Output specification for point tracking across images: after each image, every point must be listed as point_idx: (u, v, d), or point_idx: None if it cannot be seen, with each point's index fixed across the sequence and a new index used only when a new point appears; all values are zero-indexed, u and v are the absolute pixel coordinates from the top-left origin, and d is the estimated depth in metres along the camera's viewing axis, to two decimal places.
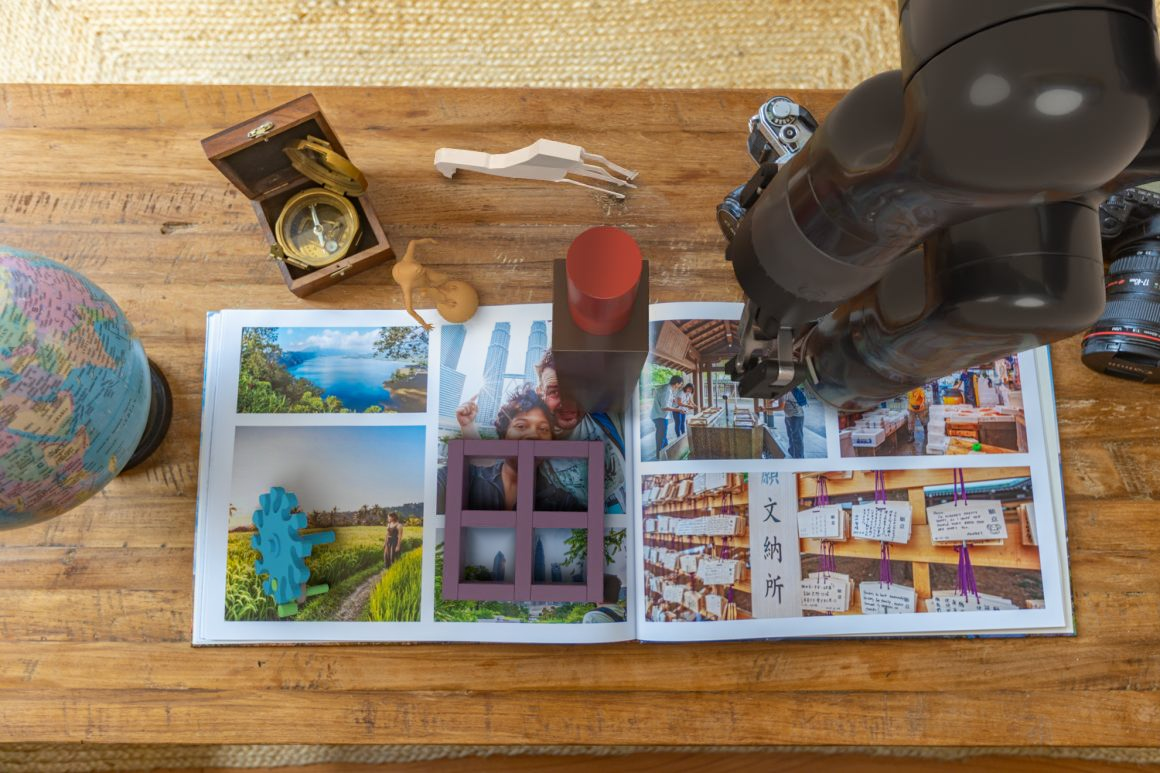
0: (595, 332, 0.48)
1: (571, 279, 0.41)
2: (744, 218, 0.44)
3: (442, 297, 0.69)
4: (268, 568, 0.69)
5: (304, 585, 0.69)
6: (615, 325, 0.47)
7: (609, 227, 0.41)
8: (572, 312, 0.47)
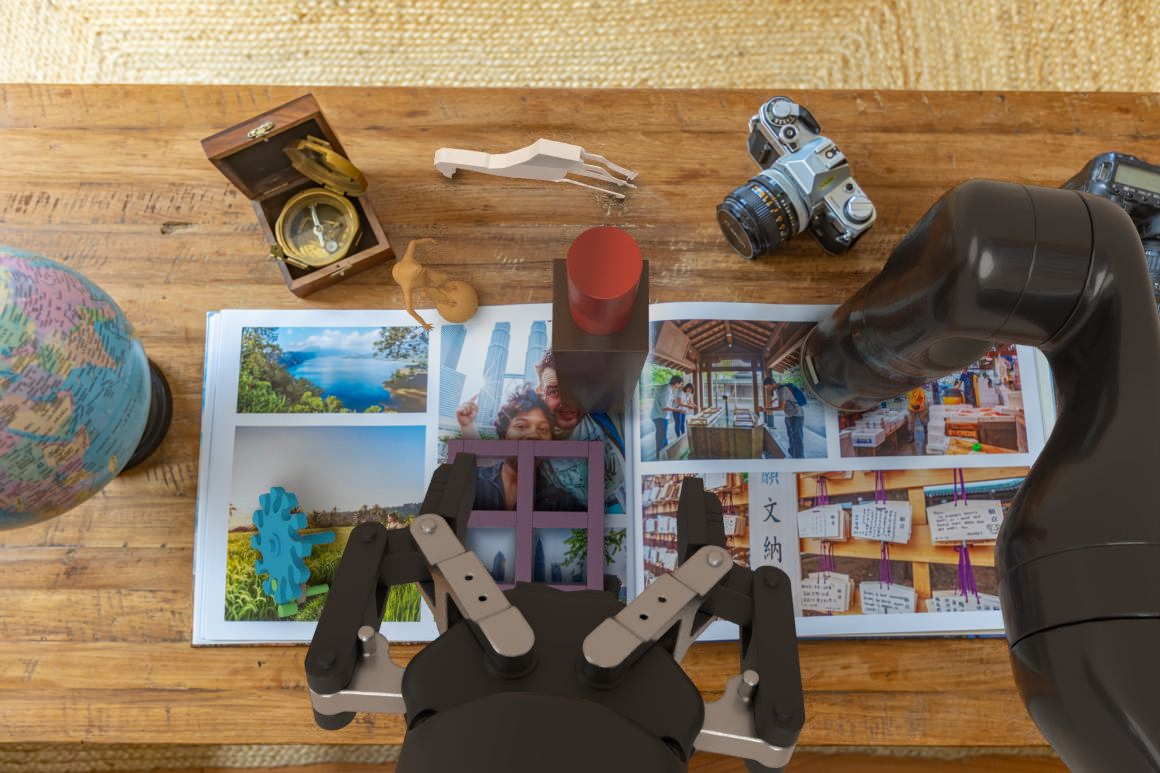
0: (596, 332, 0.48)
1: (571, 279, 0.41)
2: None
3: (442, 297, 0.69)
4: (268, 568, 0.69)
5: (304, 585, 0.69)
6: (615, 325, 0.47)
7: (609, 227, 0.41)
8: (572, 312, 0.47)
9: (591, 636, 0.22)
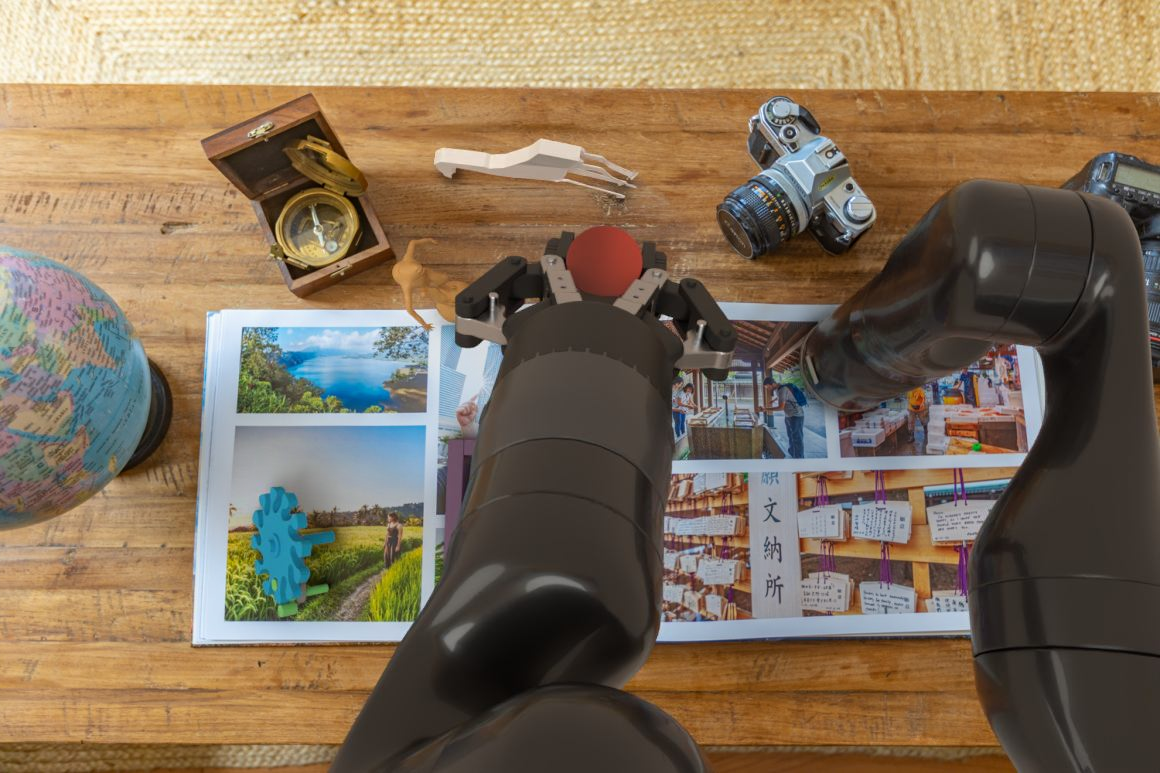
0: None
1: None
2: (632, 331, 0.32)
3: (442, 297, 0.69)
4: (268, 568, 0.69)
5: (304, 585, 0.69)
6: None
7: (609, 227, 0.41)
8: None
9: (614, 305, 0.36)
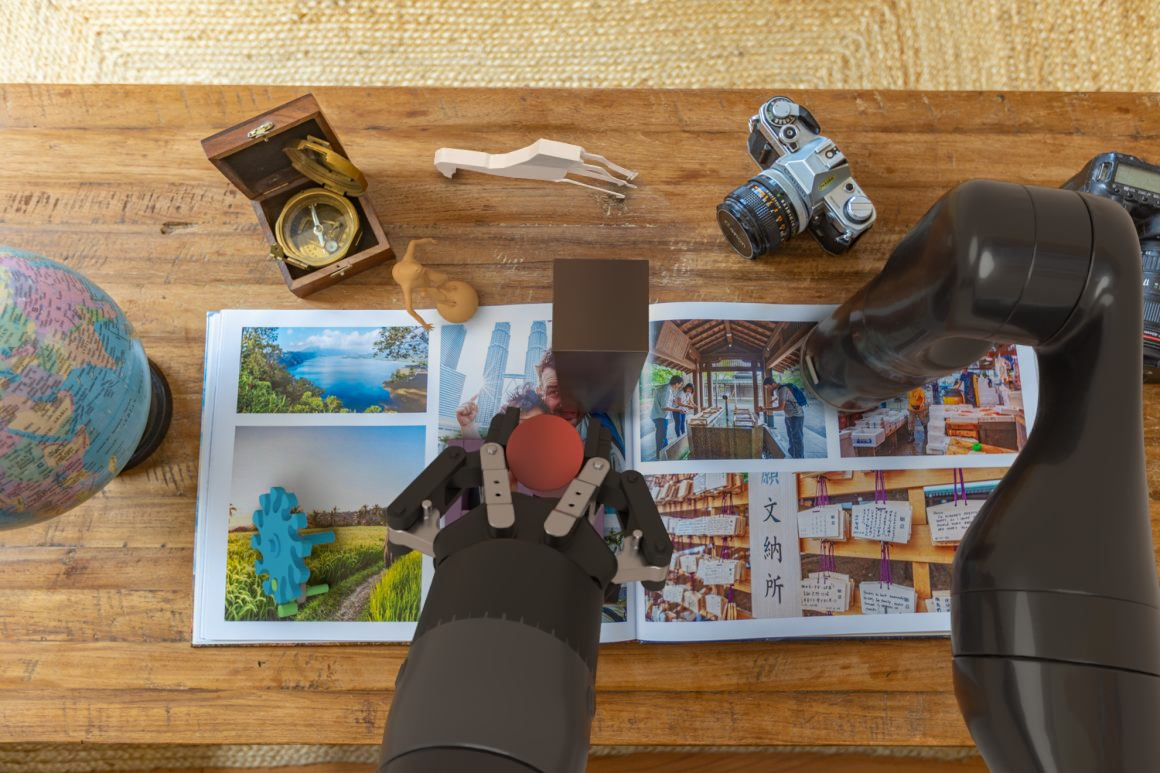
0: (544, 497, 0.47)
1: (511, 470, 0.40)
2: (555, 579, 0.31)
3: (442, 297, 0.69)
4: (268, 568, 0.69)
5: (304, 585, 0.69)
6: (563, 494, 0.46)
7: (550, 416, 0.41)
8: None
9: (547, 521, 0.36)
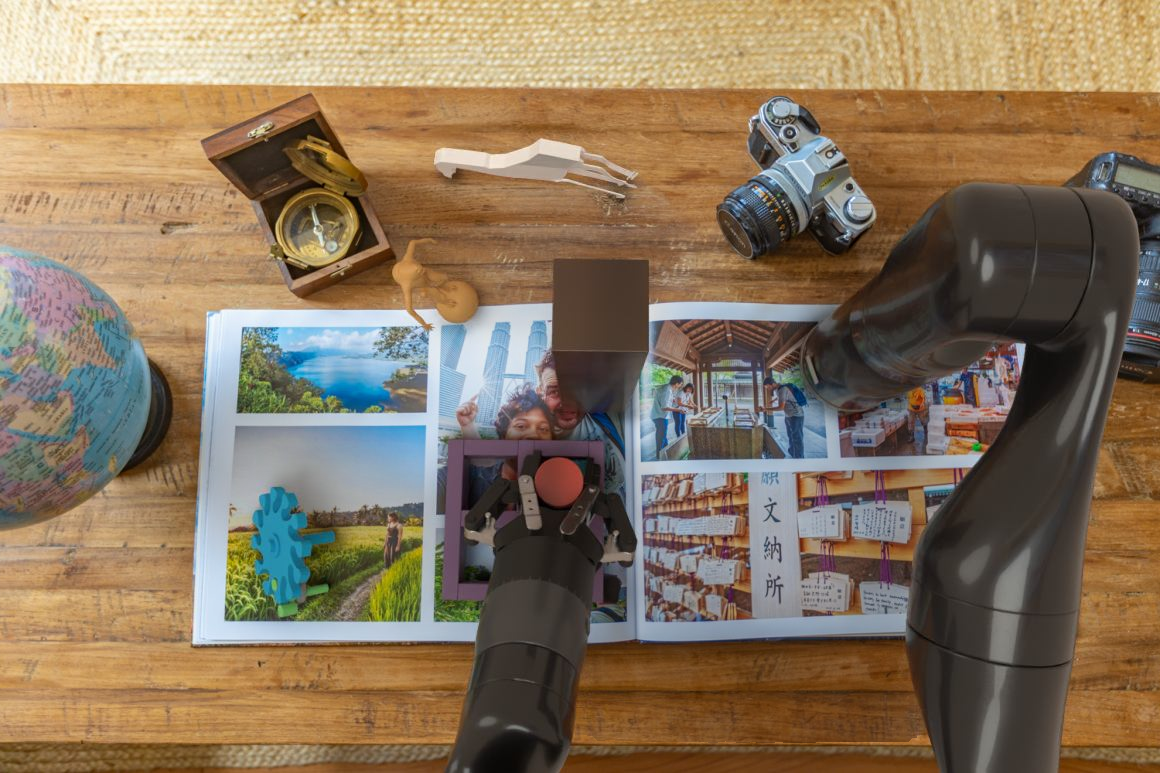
0: (557, 508, 0.71)
1: (538, 493, 0.64)
2: (567, 558, 0.55)
3: (442, 297, 0.69)
4: (268, 568, 0.69)
5: (304, 585, 0.69)
6: (570, 506, 0.70)
7: (562, 458, 0.65)
8: None
9: (561, 525, 0.59)
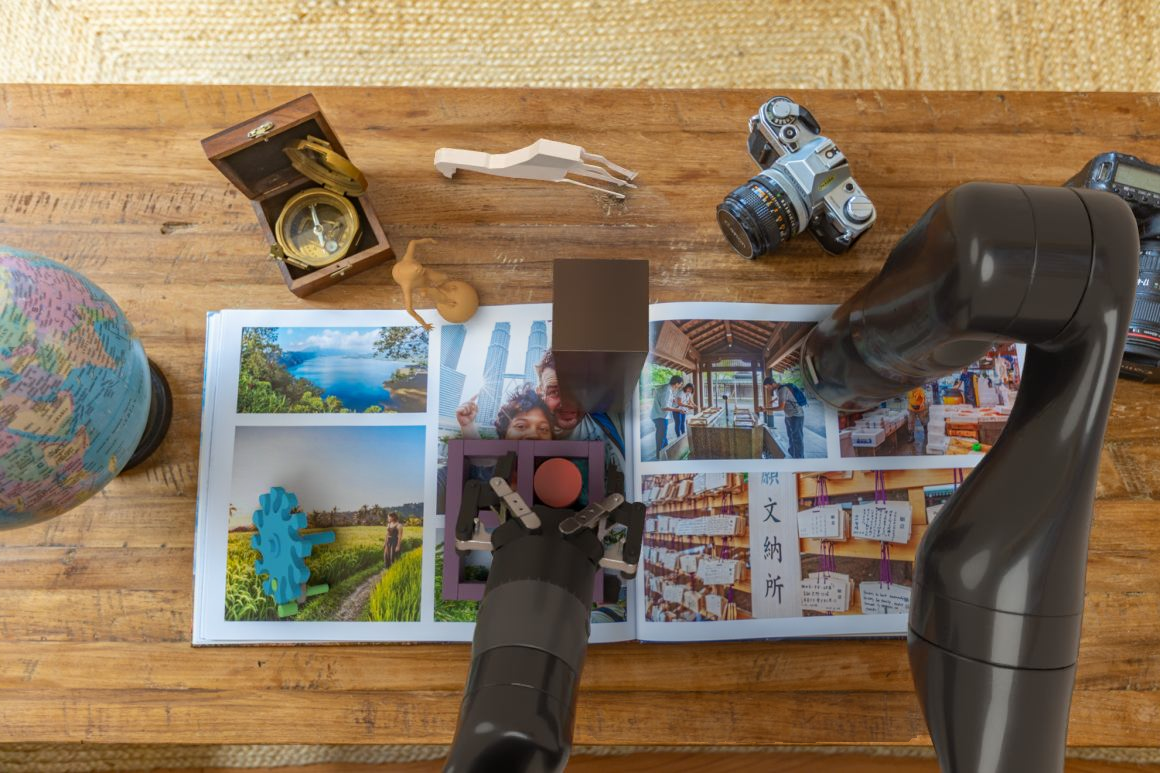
0: (556, 508, 0.72)
1: (537, 493, 0.65)
2: (566, 558, 0.53)
3: (442, 297, 0.69)
4: (268, 568, 0.69)
5: (304, 585, 0.69)
6: None
7: (561, 459, 0.65)
8: None
9: (562, 523, 0.58)
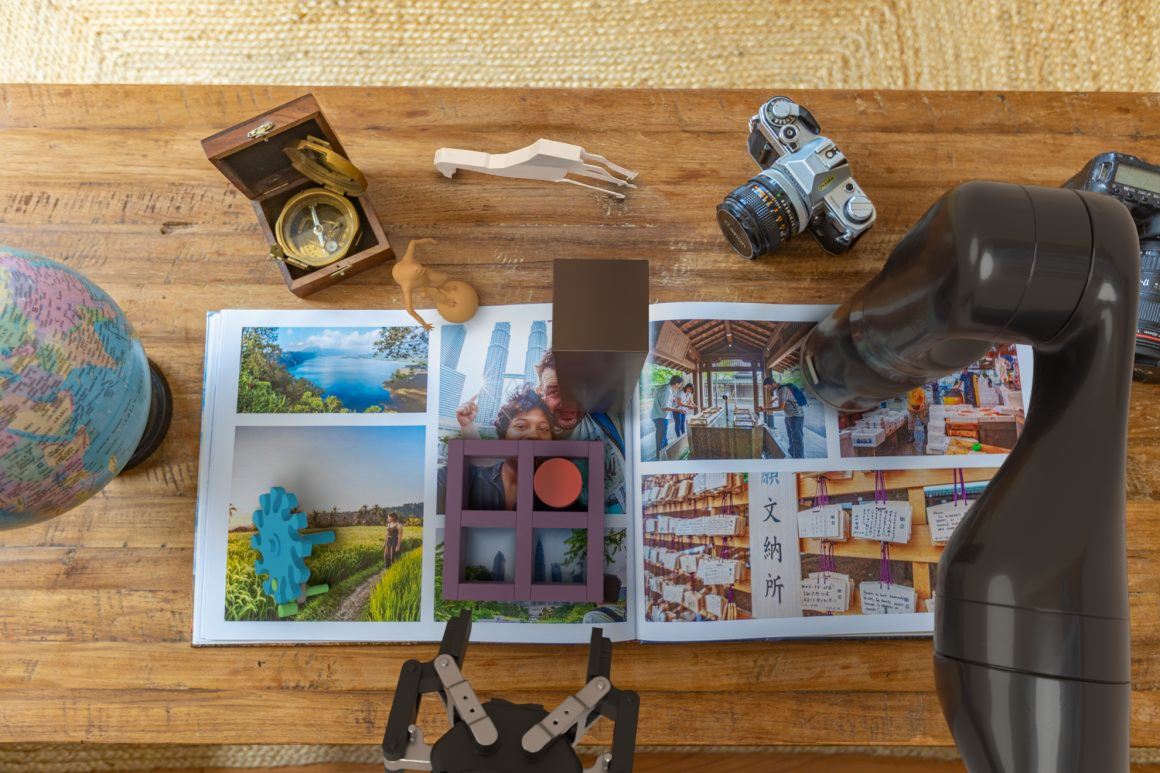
0: (556, 508, 0.72)
1: (537, 493, 0.65)
2: None
3: (442, 297, 0.69)
4: (268, 568, 0.69)
5: (304, 585, 0.69)
6: None
7: (561, 459, 0.65)
8: None
9: (526, 734, 0.43)
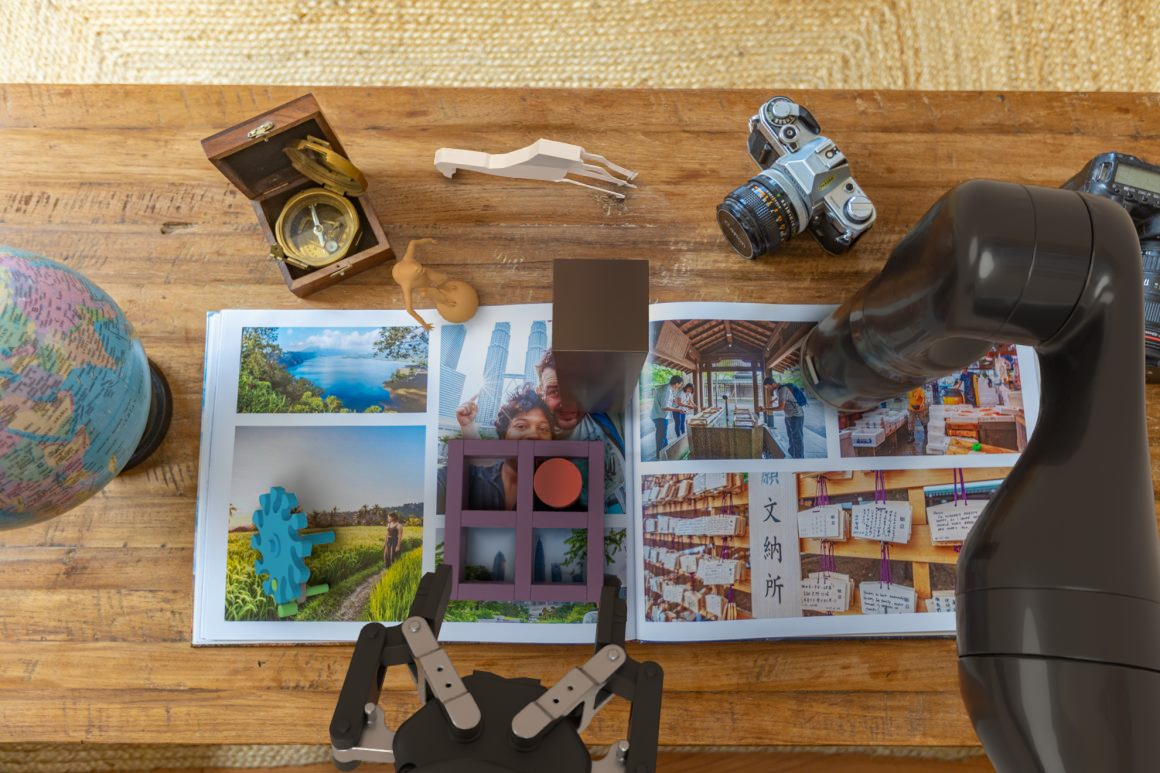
0: (556, 508, 0.72)
1: (537, 493, 0.65)
2: None
3: (442, 297, 0.69)
4: (268, 568, 0.69)
5: (304, 585, 0.69)
6: None
7: (561, 459, 0.65)
8: None
9: (518, 715, 0.33)
